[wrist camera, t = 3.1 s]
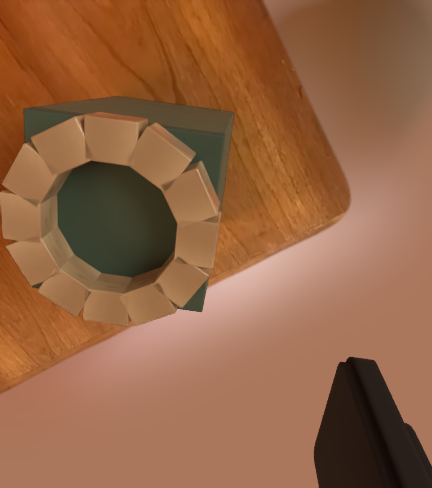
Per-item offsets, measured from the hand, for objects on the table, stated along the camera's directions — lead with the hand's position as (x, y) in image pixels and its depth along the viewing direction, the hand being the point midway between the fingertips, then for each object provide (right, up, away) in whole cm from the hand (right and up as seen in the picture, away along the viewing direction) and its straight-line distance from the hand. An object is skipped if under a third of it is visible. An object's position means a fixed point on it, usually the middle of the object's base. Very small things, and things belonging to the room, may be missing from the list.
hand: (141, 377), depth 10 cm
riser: (-2, +10, +23) cm, 25 cm away
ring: (-3, +4, +10) cm, 11 cm away
